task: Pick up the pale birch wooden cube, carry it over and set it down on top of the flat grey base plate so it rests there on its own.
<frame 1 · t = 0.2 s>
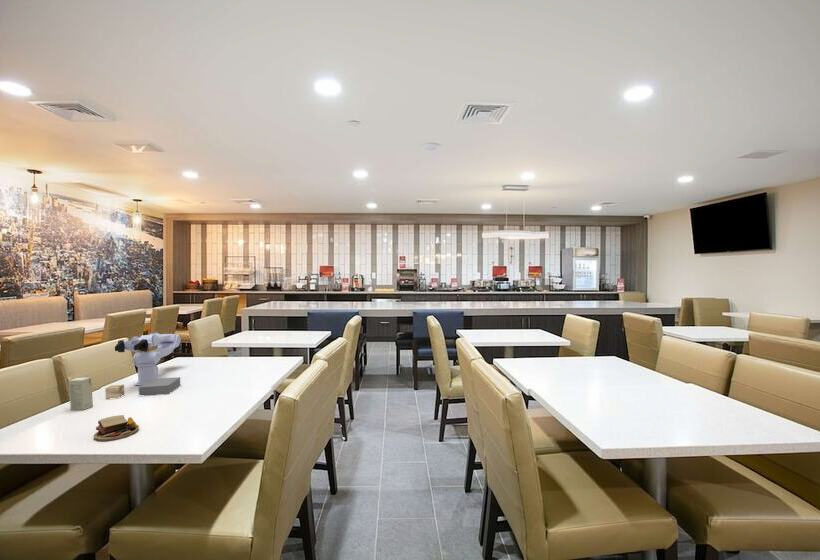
hand: (125, 348, 177), 21 cm above the table, tool horizontal, fingers open, 7 cm apart
birch cube: (115, 397, 175), on the table
toy sandwich meal: (115, 434, 135), on the table
skincare box: (81, 408, 161), on the table
flat grey base plate: (160, 390, 184), on the table
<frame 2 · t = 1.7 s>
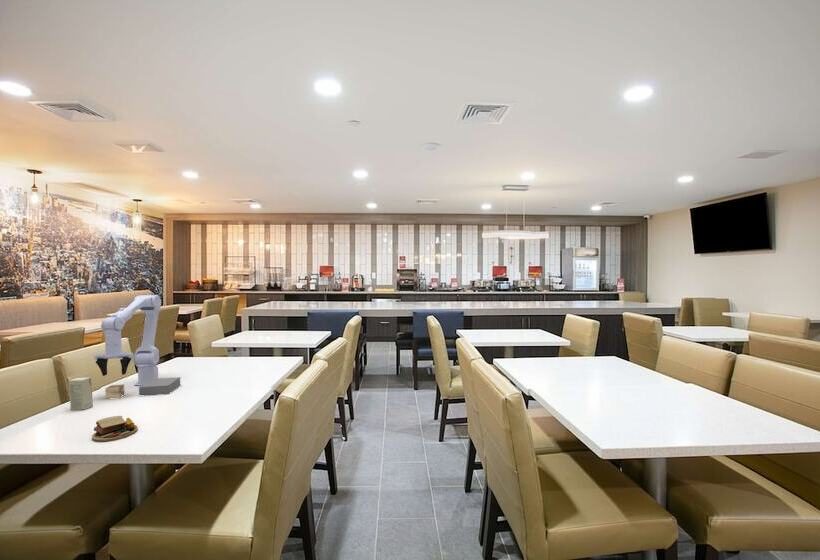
hand: (114, 374, 175), 10 cm above the table, tool pointing down, fingers open, 7 cm apart
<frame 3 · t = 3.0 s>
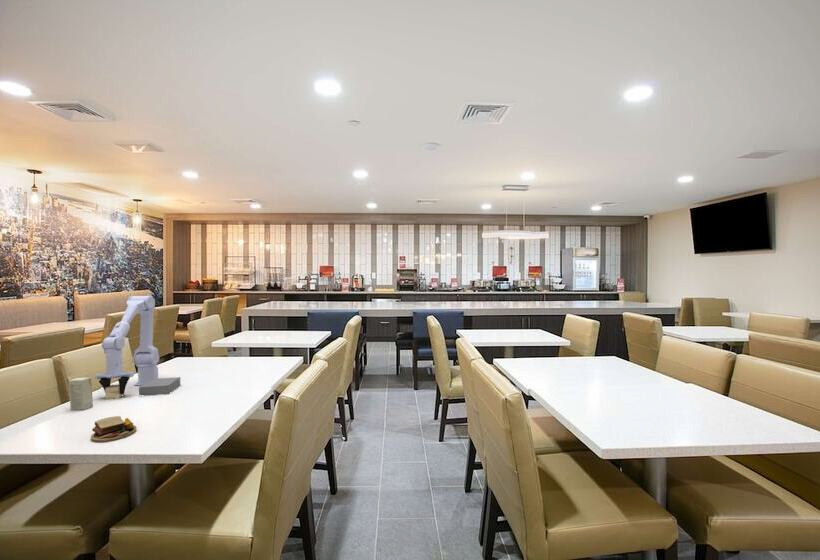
hand: (115, 393, 175), 1 cm above the table, tool pointing down, fingers closed on birch cube, 5 cm apart
birch cube: (115, 397, 175), on the table, touching gripper
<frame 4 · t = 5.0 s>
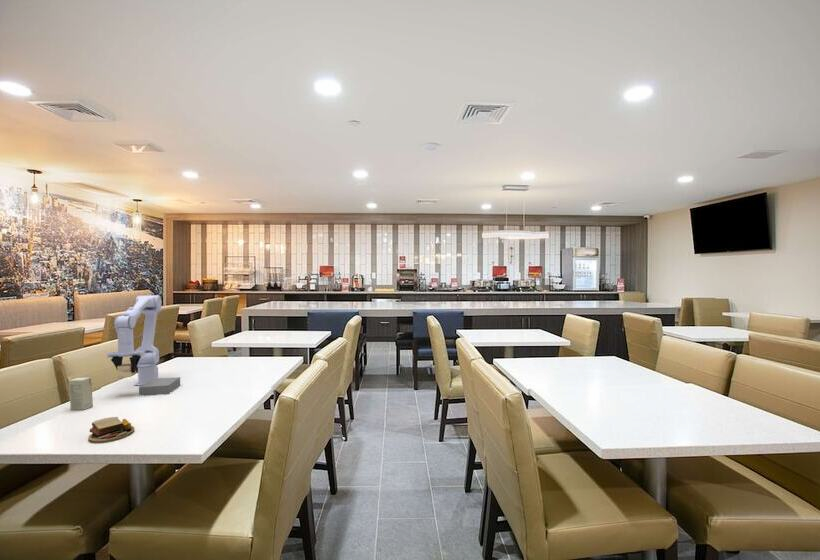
hand: (126, 372, 177), 10 cm above the table, tool pointing down, fingers closed on birch cube, 5 cm apart
birch cube: (126, 375, 177), point 9 cm above the table, touching gripper
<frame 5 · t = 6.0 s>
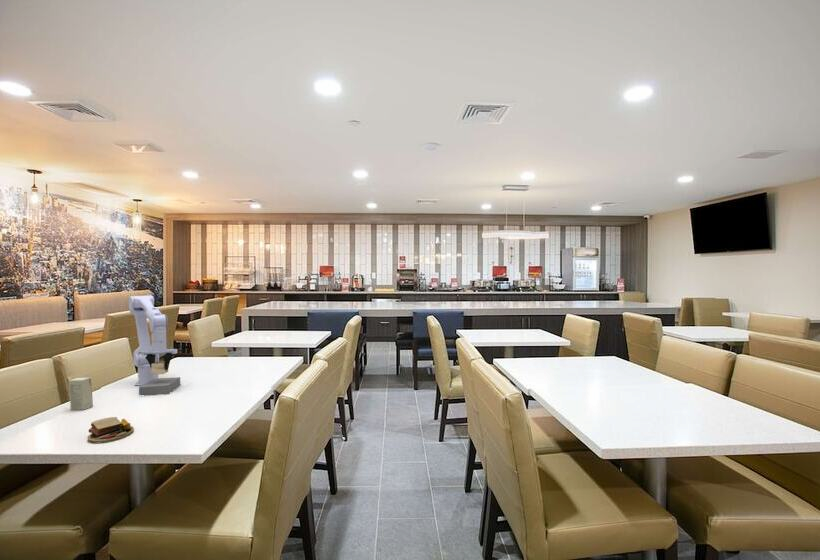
hand: (160, 369, 184), 10 cm above the table, tool pointing down, fingers closed on birch cube, 5 cm apart
birch cube: (160, 373, 184), point 8 cm above the table, touching gripper
when the fingers open (7 cm above the table, at t = 7.1 s): birch cube drops 1 cm, resting on flat grey base plate.
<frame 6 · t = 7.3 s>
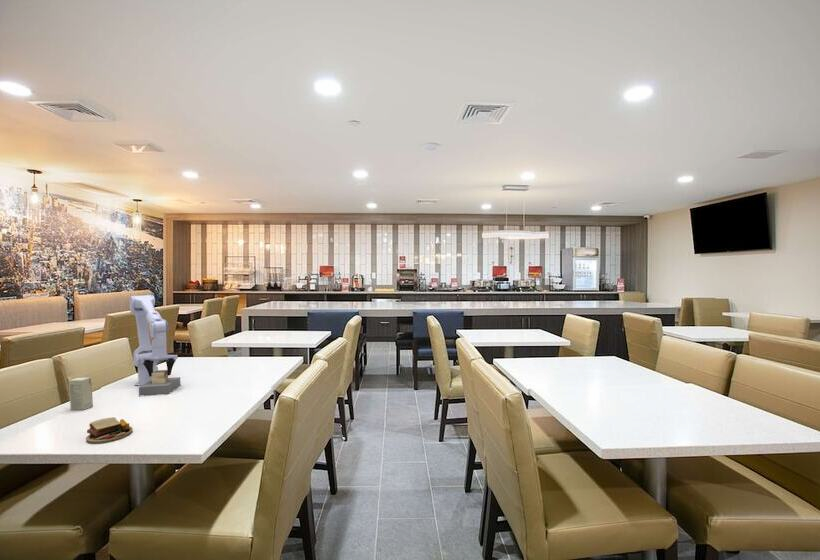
hand: (160, 375, 184), 7 cm above the table, tool pointing down, fingers open, 7 cm apart
birch cube: (160, 382, 184), point 4 cm above the table, touching flat grey base plate
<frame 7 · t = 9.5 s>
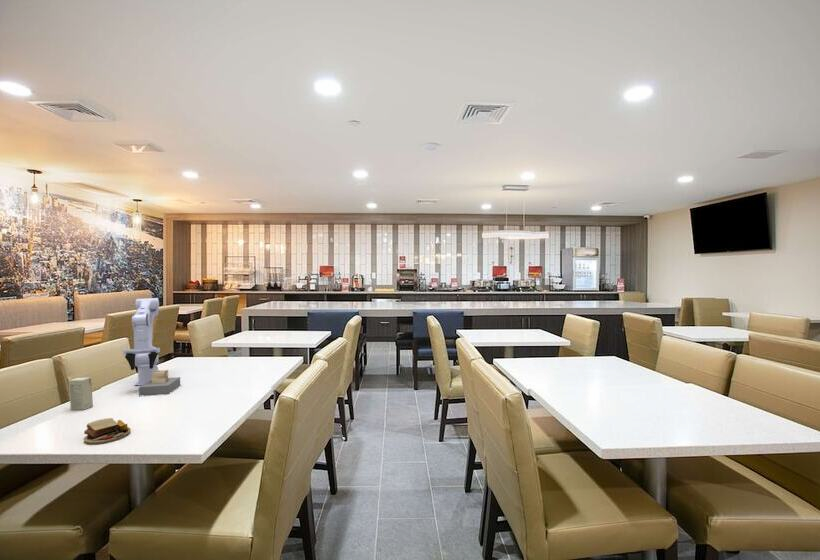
hand: (142, 368, 183), 10 cm above the table, tool pointing down, fingers open, 7 cm apart
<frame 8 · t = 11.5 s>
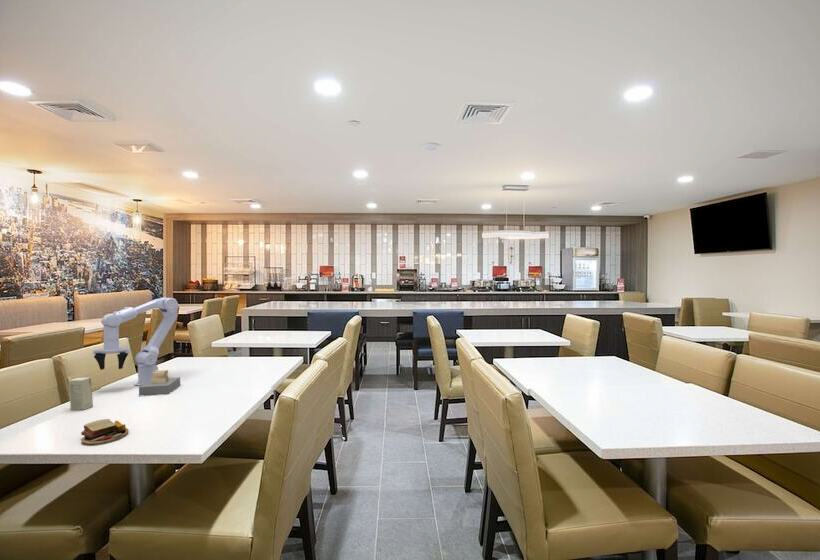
hand: (111, 368, 184), 10 cm above the table, tool pointing down, fingers open, 7 cm apart
at the end: birch cube inside the target area on the flat grey base plate (0.1 cm from its centre), point 4.0 cm above the flat grey base plate's base; birch cube tilted 0°; birch cube touching flat grey base plate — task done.
